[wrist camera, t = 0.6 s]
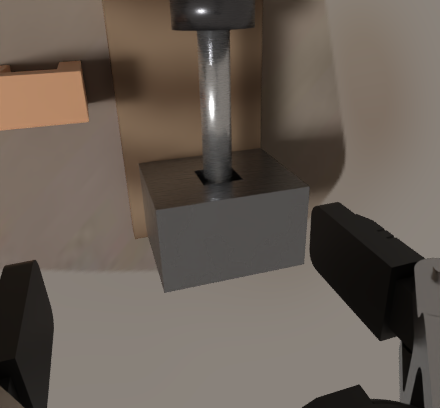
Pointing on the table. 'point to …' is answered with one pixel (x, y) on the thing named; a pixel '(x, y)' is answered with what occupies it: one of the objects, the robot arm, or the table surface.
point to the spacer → (42, 97)
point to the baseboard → (173, 88)
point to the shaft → (214, 73)
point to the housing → (223, 219)
